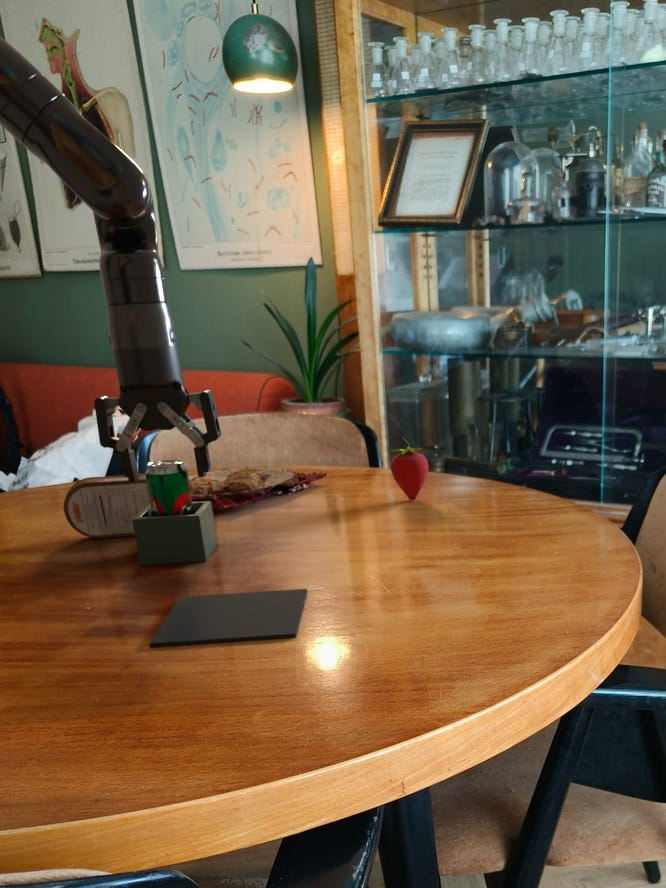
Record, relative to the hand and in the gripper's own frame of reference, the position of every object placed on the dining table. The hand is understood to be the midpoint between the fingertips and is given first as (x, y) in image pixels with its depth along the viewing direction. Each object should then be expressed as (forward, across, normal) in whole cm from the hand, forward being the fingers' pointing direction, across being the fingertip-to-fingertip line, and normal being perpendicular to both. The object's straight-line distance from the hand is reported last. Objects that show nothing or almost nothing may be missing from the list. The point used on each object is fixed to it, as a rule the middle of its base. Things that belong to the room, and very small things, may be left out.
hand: (168, 478), depth 112 cm
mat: (+10, -11, +26) cm, 30 cm away
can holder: (+10, 0, 0) cm, 10 cm away
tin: (+10, +10, -12) cm, 19 cm away
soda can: (+10, 0, 0) cm, 10 cm away
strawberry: (+11, -31, -24) cm, 40 cm away
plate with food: (+10, 0, -37) cm, 38 cm away
